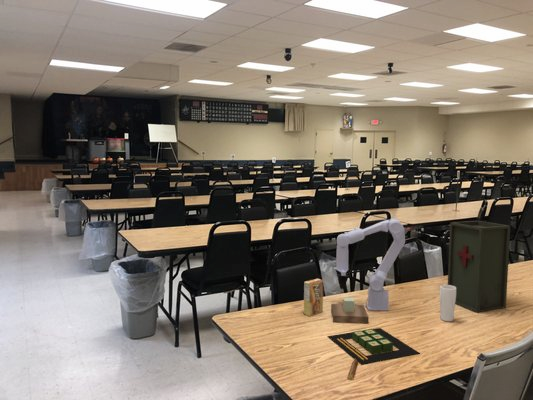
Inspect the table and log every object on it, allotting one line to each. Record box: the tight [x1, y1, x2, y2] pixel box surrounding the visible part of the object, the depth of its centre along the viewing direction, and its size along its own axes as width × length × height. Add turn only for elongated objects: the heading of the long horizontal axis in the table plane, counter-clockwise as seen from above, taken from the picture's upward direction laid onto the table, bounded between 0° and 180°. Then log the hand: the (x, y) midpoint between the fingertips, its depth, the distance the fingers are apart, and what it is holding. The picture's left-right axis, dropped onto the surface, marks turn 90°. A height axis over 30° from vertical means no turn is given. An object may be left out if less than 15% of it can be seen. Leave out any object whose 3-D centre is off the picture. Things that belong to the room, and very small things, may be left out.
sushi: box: [327, 327, 421, 366], centre depth 162 cm, size 25×25×4 cm
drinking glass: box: [439, 284, 456, 322], centre depth 187 cm, size 7×7×15 cm
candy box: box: [303, 278, 324, 317], centre depth 195 cm, size 9×4×15 cm, turn 129°
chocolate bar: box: [346, 358, 359, 381], centre depth 142 cm, size 3×12×2 cm, turn 161°
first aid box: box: [447, 220, 511, 314], centre depth 206 cm, size 18×18×40 cm
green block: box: [343, 297, 355, 312], centre depth 191 cm, size 4×4×5 cm
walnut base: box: [330, 303, 369, 324], centre depth 191 cm, size 15×15×3 cm
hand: (341, 286), depth 206 cm, fingers open, 7 cm apart
